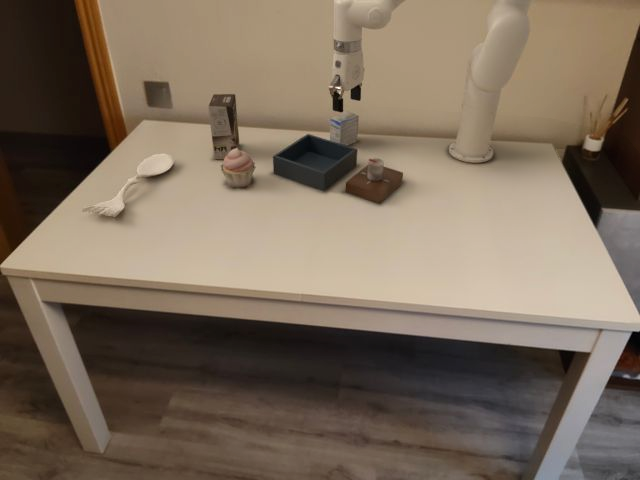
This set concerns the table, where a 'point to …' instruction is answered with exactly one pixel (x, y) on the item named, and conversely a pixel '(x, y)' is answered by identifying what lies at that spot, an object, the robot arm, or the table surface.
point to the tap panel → (374, 184)
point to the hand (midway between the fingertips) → (346, 105)
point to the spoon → (145, 169)
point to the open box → (315, 162)
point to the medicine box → (344, 128)
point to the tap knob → (375, 169)
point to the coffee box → (223, 124)
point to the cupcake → (238, 168)
